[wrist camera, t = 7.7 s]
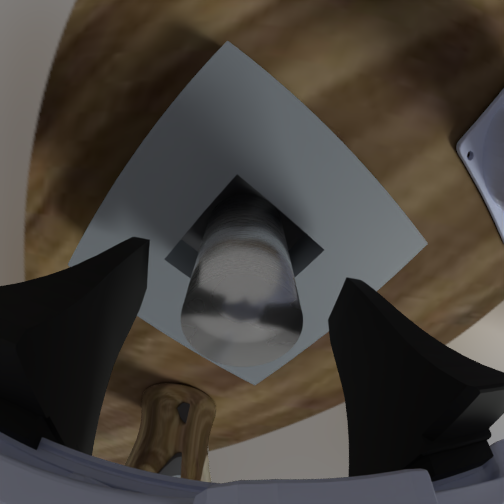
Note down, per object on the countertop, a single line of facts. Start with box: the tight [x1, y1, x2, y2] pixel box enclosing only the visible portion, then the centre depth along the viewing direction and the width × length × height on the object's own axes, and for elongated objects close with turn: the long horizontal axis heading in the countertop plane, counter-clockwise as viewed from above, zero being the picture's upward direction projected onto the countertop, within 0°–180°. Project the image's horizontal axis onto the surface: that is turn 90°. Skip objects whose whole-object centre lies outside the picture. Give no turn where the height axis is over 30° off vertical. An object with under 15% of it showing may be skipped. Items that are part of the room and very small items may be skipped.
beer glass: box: [124, 383, 216, 483], centre depth 16 cm, size 7×7×15 cm
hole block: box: [68, 41, 428, 385], centre depth 14 cm, size 12×12×3 cm
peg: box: [181, 194, 303, 367], centre depth 12 cm, size 4×4×7 cm
